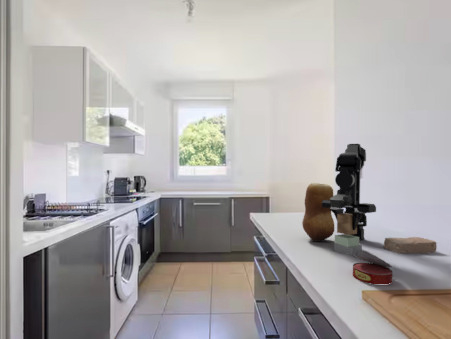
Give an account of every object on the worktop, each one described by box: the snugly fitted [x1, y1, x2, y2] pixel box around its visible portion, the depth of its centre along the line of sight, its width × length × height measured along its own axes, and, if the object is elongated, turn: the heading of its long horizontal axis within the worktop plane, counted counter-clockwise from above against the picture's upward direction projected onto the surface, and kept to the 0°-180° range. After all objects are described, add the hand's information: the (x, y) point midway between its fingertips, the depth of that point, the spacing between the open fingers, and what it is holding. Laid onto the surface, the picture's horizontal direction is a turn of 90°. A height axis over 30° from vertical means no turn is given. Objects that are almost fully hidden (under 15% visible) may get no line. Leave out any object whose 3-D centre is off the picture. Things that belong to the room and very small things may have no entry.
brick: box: [383, 236, 438, 254], centre depth 110 cm, size 17×8×5 cm, turn 96°
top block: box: [334, 233, 360, 247], centre depth 106 cm, size 6×6×3 cm
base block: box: [333, 242, 363, 256], centre depth 106 cm, size 7×7×3 cm
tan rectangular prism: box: [336, 212, 357, 235], centre depth 106 cm, size 5×5×7 cm
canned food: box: [352, 248, 393, 285], centre depth 79 cm, size 11×10×10 cm
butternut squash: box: [301, 182, 335, 242], centre depth 123 cm, size 14×13×25 cm
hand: (347, 228), depth 106 cm, fingers closed on tan rectangular prism, 5 cm apart
